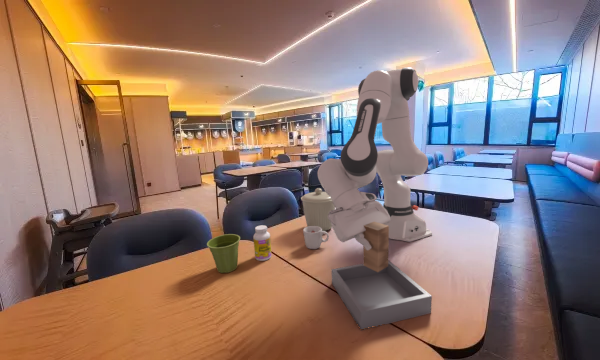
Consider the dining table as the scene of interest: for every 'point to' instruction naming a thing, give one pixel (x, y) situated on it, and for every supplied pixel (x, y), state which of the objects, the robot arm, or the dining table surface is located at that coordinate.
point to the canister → (318, 209)
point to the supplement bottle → (262, 243)
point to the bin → (380, 294)
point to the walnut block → (376, 246)
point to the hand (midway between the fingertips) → (377, 245)
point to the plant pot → (225, 252)
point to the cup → (314, 237)
